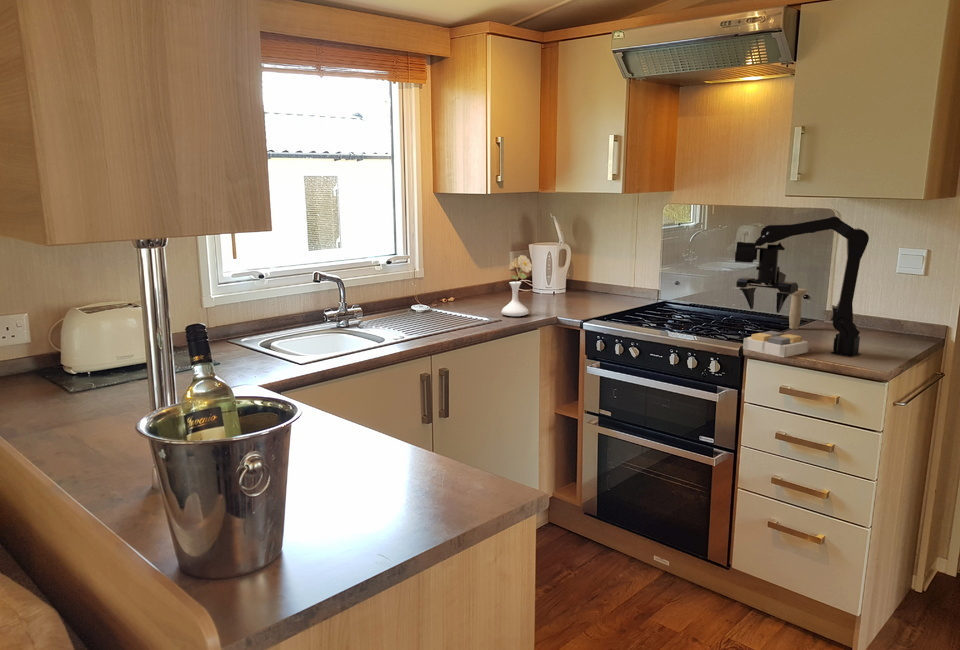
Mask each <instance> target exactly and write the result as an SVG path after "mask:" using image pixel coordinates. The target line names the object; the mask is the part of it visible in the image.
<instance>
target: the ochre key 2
mask: <svg viewBox="0 0 960 650" xmlns="http://www.w3.org/2000/svg"><path fill="white" fill-rule="evenodd" d="M780 337H785V338H790V342H791V343H795V342H800V341H801V340H802V336H801V335H796V334H791V333H785V334H784V335H781V336H780Z"/></svg>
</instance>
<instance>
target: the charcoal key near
mask: <svg viewBox="0 0 960 650" xmlns="http://www.w3.org/2000/svg"><path fill="white" fill-rule="evenodd" d="M768 343H773V344H778V345H785V344H790V338H785V337H780V336H775V337H770V338H769V342H768Z"/></svg>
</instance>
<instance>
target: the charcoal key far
mask: <svg viewBox="0 0 960 650" xmlns="http://www.w3.org/2000/svg"><path fill="white" fill-rule="evenodd" d="M762 333H764V334H769V335H773V337H775V336H781V335H785V334H784V332H779V331H774V330H769V331H763V332H762Z"/></svg>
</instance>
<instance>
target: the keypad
mask: <svg viewBox="0 0 960 650" xmlns="http://www.w3.org/2000/svg"><path fill="white" fill-rule="evenodd" d="M768 342H769V341H765V342H763V341H758V340H753V339H751V336H748V337H744V338H743V345H742V349H743V350H747V351H752V352H753V351H754V352H757V353H760V354H761V353H762V354H767V355H770V356H775V357H781V358H788V357H792V356H797V355H801V354H806V353H809V346H810V344H809V343H810V342H809V341H808V340H804V339H801V341H800V342H795V343H791V342H790V344H785V345H778V344H773V343H768Z"/></svg>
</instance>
